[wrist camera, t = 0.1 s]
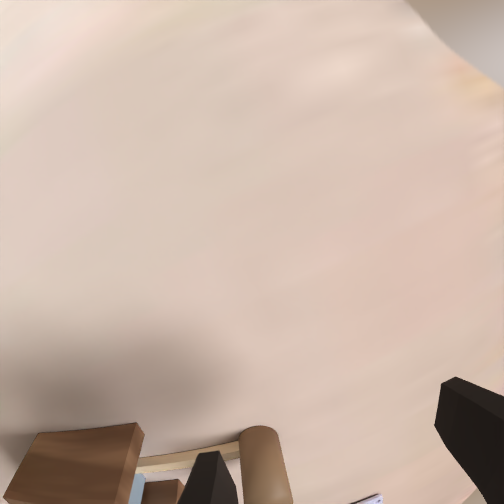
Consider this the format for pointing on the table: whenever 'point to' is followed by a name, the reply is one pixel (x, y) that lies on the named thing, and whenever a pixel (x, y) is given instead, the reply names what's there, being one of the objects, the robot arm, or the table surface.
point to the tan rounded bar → (251, 460)
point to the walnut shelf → (86, 469)
